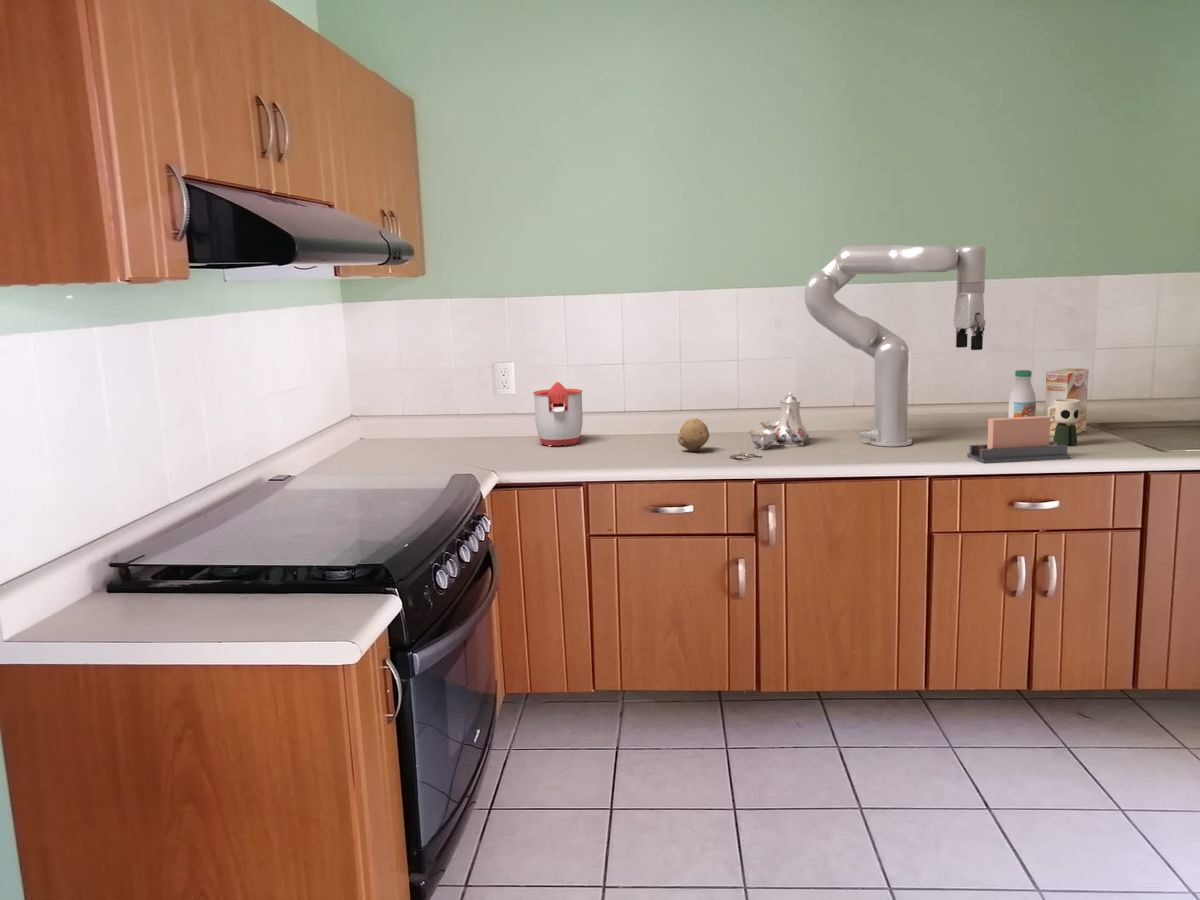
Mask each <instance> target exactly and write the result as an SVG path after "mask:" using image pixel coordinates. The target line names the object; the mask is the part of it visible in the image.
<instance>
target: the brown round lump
mask: <svg viewBox="0 0 1200 900" xmlns="http://www.w3.org/2000/svg"><path fill="white" fill-rule="evenodd" d="M709 437H710V433H709V429H708V426H707V425H706V424H705V422H703V420H701V419H698V418H690V419H688V420H686V421H685V422H684V423H683V424H682V426H681V428H680V431H679V433H678V435H677V442H678V444H679V445H680V446H681V447H683V448H685V449H686V450H688V451H690V452H693V453H695V452H698V451H699V450H700V449H702V447H704V446H705V445H706V444H707V442H708V441H709Z"/></svg>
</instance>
